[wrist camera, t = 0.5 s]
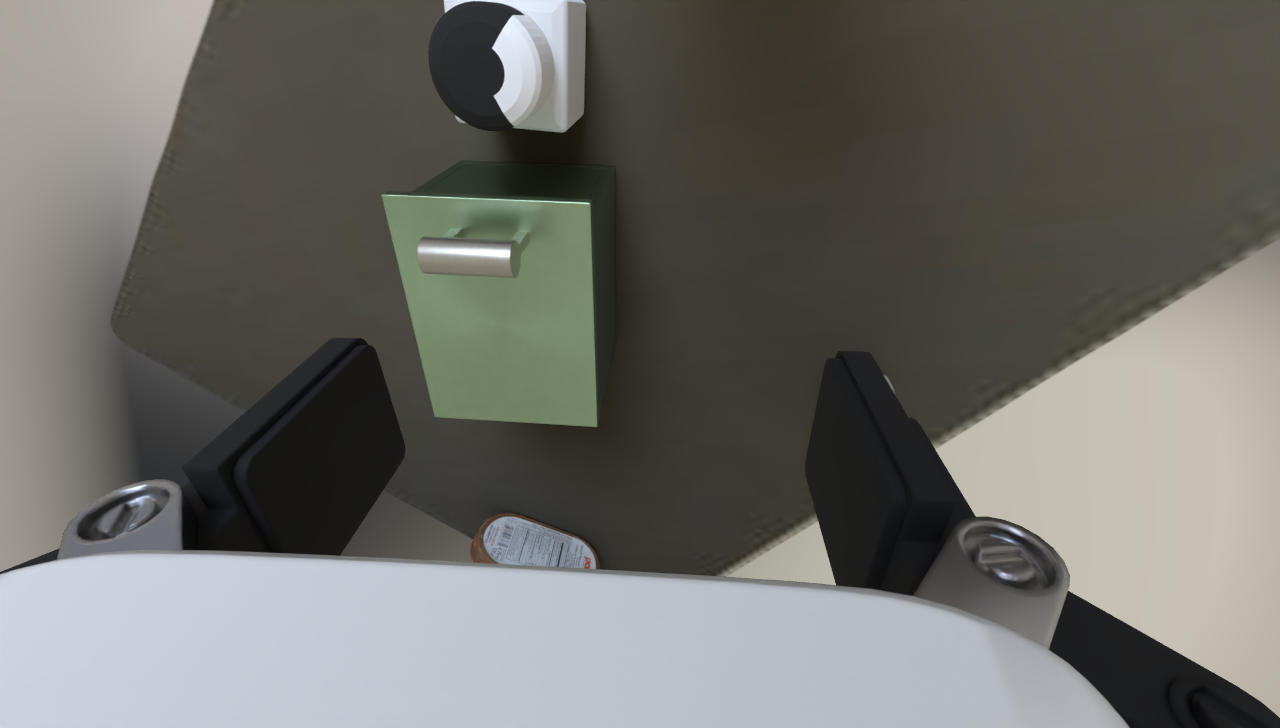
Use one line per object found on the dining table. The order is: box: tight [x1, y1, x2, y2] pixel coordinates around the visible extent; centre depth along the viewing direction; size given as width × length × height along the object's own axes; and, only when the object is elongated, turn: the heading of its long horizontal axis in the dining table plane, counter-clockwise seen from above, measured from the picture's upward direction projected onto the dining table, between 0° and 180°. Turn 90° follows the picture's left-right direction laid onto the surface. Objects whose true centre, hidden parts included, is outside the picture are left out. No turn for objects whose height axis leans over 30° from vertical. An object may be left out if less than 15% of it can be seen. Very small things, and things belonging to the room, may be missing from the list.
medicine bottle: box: [429, 0, 586, 133], centre depth 33 cm, size 7×7×12 cm
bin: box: [412, 161, 616, 417], centre depth 41 cm, size 16×12×12 cm
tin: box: [470, 513, 600, 569], centre depth 61 cm, size 15×3×8 cm, turn 65°
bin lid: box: [382, 191, 599, 427], centre depth 34 cm, size 16×12×5 cm
